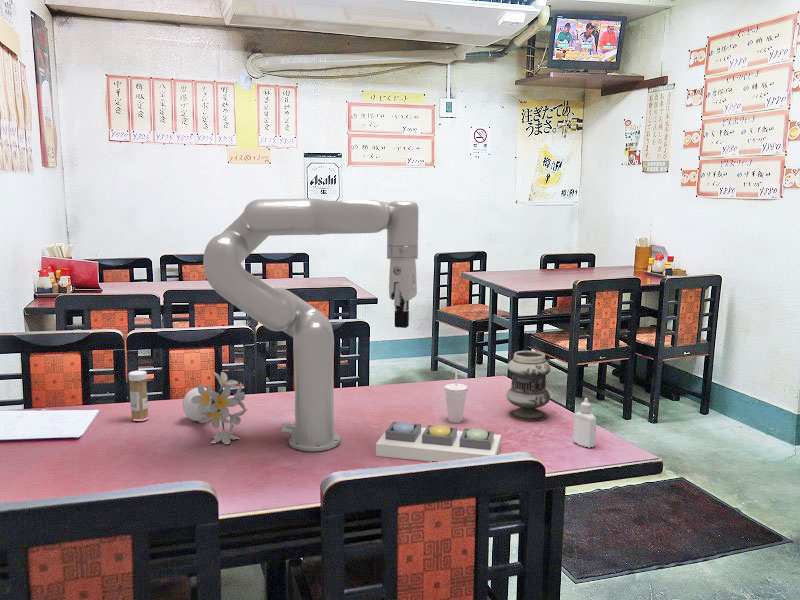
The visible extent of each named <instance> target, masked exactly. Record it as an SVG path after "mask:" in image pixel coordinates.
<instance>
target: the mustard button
mask: <svg viewBox="0 0 800 600" xmlns="http://www.w3.org/2000/svg"><path fill="white" fill-rule="evenodd" d="M449 427H450V426H446V425H442V424H441V425H439V424H438V425H433V426H432V427H430V430H429V435H440V436H450V428H449Z"/></svg>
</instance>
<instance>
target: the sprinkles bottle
mask: <svg viewBox="0 0 800 600" xmlns="http://www.w3.org/2000/svg"><path fill="white" fill-rule="evenodd" d="M147 373H148V372H147V371H146V370H133V371H130V372H128V382H129V397H130V399H129V400H130V411H131V412H130V413H131V419H144V418H146V417H148V416H149V402H148V400H149V399H148V390H147V386H148V385H147V378H148V375H147Z"/></svg>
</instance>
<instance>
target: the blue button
mask: <svg viewBox="0 0 800 600" xmlns="http://www.w3.org/2000/svg"><path fill="white" fill-rule="evenodd" d="M397 422H398V423H395V424H394V425H393V431H399V432H409V433H412V432H413V431H414V425H413V424H414V423H412V422H407V421H397Z"/></svg>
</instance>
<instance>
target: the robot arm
mask: <svg viewBox="0 0 800 600" xmlns="http://www.w3.org/2000/svg"><path fill="white" fill-rule="evenodd" d="M383 230H386V259H387V260H390V262H389V276H388V277H389V279H388V295H389V299H390V300H391V301H393V306H394V327H395V328H399V329H400V328H402V329H407V328H408V327H409V326H410V325H409V323H410V300H413V298H415V297H416V296H417V294H418V288H417V287H418V285H417V283H418V282H417V265H416V264H417V263H416V260H418V259H419V206H418V203H416V202H415V201H411V200H410V201H409V200H408V201H407V200H406V201H404V200H398V201H396V200H395V201H391V202H388V201H380V200H377V199H368V200H328V199H320V198H271V199H270V198H268V199H267V198H263V199H262V198H259V199H255V200H251V201H250V202H249V203H247V205H245V206H244V209H243V212H242V213H241V214H240V215H239V216H238V217H237V218H236V219H235V220H234V221H233V222H231V224H230V225H229V226H227V228H225V229H224V230H223V231H222V232H220V233H219V234H217V235H215V236H213V237H212V238H211V239H210V240H209V241H208V243H207V244H206V246H205V249H204V252H203V253H204V254H203V259H202V260H203V261H202V262H203V263H202V264H203V272H204V276H205V278H206V280H207V282H208V284H209V285H210V286H211V288H212V289H213V290H214V291H215V292H216V293H217V294H218V295H219V296H220V297H222V298H223V299H225V300H226V301H227V302H229V303H230V304H232V305H233V306H234V307H236V308H238V310H240V311H241V312H243V313H244V314H246V315H247V316H249V317H251V319H253V320H255V321H256V322H258V324H260V325H262V326H263V327H265V328H266V329H268V330H269V331H273V332H284V333H285V334H287V335H288V336H290V337H291V338H292V340H293V346H292V347H293V367H294V369H293V370H294V374H293V375H294V380H293V381H294V422H293V423H290V422H289V423H288V422H281V425H280V430H281V434H290V435H291V436H290V437H289V439H288V443H289V445H290V447H291V448H293V449H295V450H297V449H298V451H303V452H322V451H323V452H324V451H328V450H331V449H333V448H335V447H337V446H339V444H341V436H340V435H339V434H338V433H337V432H335V419H334V418H335V416H334V414H335V410H334V409H335V405H334V404H335V403H334V401H335V400H334V397H335V395H334V388H335V386H334V383H335V382H334V381H335V380H334V357H335V354H334V353H335V336H334V330H333V326H332V322H331V320H330V319H329V318H328V317H327V315H326V314H324V313H323V312H321V311H320V310H318V309H317V308H315V307H314V306H312V305H311V304H310V303H308V302H307V301H305V300H303V299H302V298H300V297H299V296H298V295H297V294H295V293H293V292H291V290H288V289H286V288H282V287H274V288H273V287H272V286H270V285H268V284H267V283H266V282H263V281H262V280H261V279H260V278H259V277H257V276H255V275H254V274H252V273H251V272H249V271H247V270H246V269H245V268H244V266H243V264H242V263H243V262H244V260H246V259H247V258H248V257H249V256H250V255H251V254H252V253H253V252H254V251H255V250H256V249H257V248H259V246H260V245H261V244H262V243H263V242H264V241H266V240H267V238H268V237H269V236H273V237H274V236H313V235H314V236H317V235H318V236H322V235H332V234H333V235H336V234H337V235H343V234H348V235H349V234H351V235H352V234H353V235H354V234H376V233H379V232H382V231H383Z"/></svg>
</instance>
